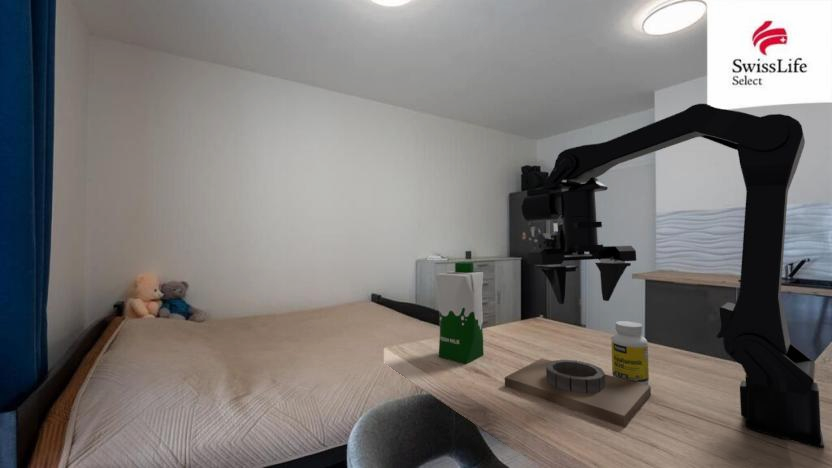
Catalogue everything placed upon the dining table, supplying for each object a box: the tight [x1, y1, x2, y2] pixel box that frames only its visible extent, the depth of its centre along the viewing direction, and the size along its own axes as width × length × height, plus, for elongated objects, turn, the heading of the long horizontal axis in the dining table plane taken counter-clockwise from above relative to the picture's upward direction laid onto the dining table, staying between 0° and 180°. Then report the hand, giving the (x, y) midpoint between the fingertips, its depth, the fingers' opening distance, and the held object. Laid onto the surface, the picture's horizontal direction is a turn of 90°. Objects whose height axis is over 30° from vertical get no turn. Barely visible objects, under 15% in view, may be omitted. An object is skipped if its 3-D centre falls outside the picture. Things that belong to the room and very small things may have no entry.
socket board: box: [504, 358, 652, 428], centre depth 55 cm, size 18×13×4 cm
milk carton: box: [434, 261, 485, 365], centre depth 73 cm, size 9×9×20 cm
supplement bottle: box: [611, 320, 650, 385], centre depth 59 cm, size 5×5×10 cm
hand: (583, 302), depth 62 cm, fingers open, 9 cm apart
